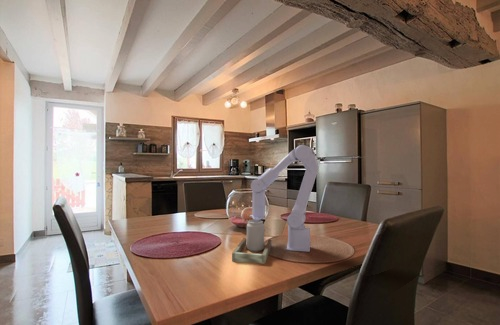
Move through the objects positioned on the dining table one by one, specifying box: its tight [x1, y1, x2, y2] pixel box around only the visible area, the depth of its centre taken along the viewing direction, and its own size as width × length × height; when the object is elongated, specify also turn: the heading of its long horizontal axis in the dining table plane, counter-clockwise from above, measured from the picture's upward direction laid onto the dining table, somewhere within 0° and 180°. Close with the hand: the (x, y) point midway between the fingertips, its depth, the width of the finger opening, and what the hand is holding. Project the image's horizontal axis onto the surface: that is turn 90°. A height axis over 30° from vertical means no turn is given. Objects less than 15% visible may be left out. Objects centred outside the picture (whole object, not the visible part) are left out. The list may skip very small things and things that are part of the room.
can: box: [246, 219, 265, 253], centre depth 112 cm, size 8×8×12 cm
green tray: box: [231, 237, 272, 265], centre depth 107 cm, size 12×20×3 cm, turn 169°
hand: (258, 235), depth 120 cm, fingers closed
